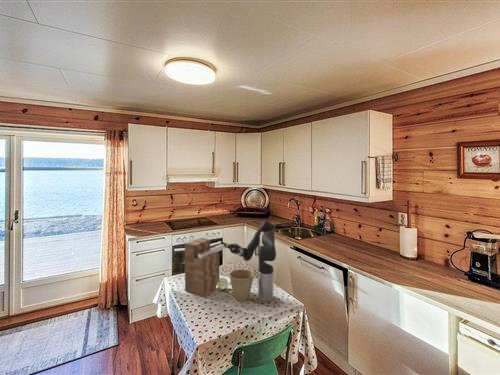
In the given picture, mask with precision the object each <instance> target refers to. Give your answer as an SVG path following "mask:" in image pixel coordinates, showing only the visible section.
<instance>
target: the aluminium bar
mask: <svg viewBox="0 0 500 375" xmlns="http://www.w3.org/2000/svg"><path fill="white" fill-rule="evenodd" d="M222 250H225V247H224V244H221V243H220V244H218V245H215V246H212V247H210V249H208V250H206V251H203V252H201V253H199V254H198V259H203V258H206V257H208V256H210V255H212V254H214V253H216V252H217V253H219V252H220V251H222Z"/></svg>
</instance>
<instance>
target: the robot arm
mask: <svg viewBox="0 0 500 375" xmlns="http://www.w3.org/2000/svg"><path fill="white" fill-rule="evenodd" d="M275 231H276V226H275V225H274V224H273V223H272V222H270V221H269V220H266V219H265V220H263V221H262V222H261V224H259V227H258V229H257V230H256V232H255V234H254V236H253V237H252V239H251V241H250V242H249V243H248V244H247V245H246V247H242V246H241V245H239V244H237V243H231V244H230V243H229V242H228V243H227V242H223V241H221V242H220V244H224V249H228V250H229V251H230V253H232V254H234V255H235V256H238V257H242V258H243V259H244V261H246V262H248V261H250V260H252V258H253V255H254V253H255V251H256V249H257V248H258V252H257V253H258V281H257V282H258V288H257V289H258V290H257V294H258V296H257V298H258V299H259V300H260V301H262V302H271V301H273V299H274V267H273V265H271V264H269V263H267V262H274V261H275V260H276V258H277V251H276V250H277V249H276V244H275V243H276V241H275V240H276V239H275V233H276V232H275ZM261 233H262V235H261ZM260 237H261V238H260ZM260 239H261V240H260ZM260 241H261V244H262V245H260ZM259 245H260V246H259Z"/></svg>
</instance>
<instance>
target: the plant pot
mask: <svg viewBox="0 0 500 375" xmlns="http://www.w3.org/2000/svg"><path fill="white" fill-rule="evenodd" d="M254 274H255V273H254V272H253V271H252V270H249V269H241V268H240V269H235V270H232V271H231V272H230V273H229V279H230V285H231V288H232V293H233V295H234V298H235V300H236V301H237V302H240V303H241V302H246V301H248V299H249V296H250V293H251V290H252V286H253V281H254Z"/></svg>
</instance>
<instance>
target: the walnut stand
mask: <svg viewBox="0 0 500 375" xmlns="http://www.w3.org/2000/svg"><path fill="white" fill-rule="evenodd" d="M210 248H211V239H209V238H208V239H207V238H203V237H200V238H198V239H194V240H192V241H189V242H185V243H184V288H185V289H184V292H186V291H187V293H189V294H193V295H194V296H197V297H201V298H203V299H204V298H206V297H207V296H208V295H211V293H213V292H214V291H216V290H217V289H216V284H217V282H218V281H219V282H220V253H219V252H216V253H214V254H212V255H210V256H208V257H206V258H203V259H198V254H199V253H201V252H203V251H206V250H208V249H210Z"/></svg>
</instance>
